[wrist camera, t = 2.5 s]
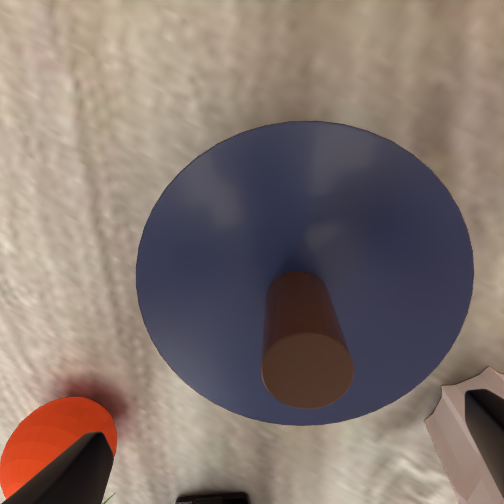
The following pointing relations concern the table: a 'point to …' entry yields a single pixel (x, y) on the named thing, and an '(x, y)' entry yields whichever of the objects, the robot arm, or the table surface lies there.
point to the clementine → (50, 438)
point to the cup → (464, 441)
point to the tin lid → (304, 273)
